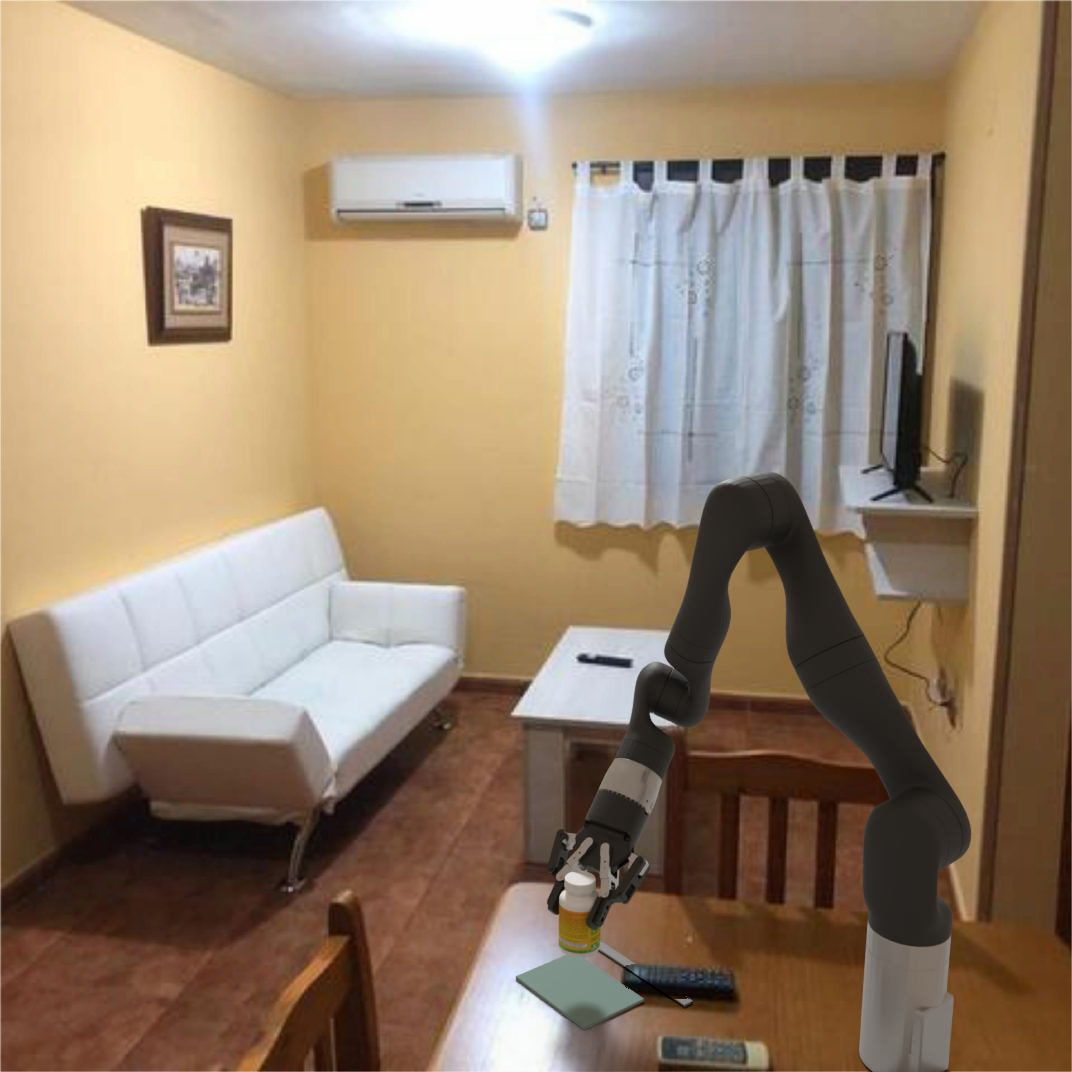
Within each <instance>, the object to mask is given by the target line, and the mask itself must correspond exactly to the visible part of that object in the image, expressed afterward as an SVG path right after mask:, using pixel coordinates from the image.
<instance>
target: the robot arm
mask: <svg viewBox="0 0 1072 1072" xmlns="http://www.w3.org/2000/svg"><path fill="white" fill-rule="evenodd" d="M700 517H701V518H700V520H699V521H700V522H699V527H698V532H697V537H696V542H695V546H694V552H693V555H692V560H691V565H690V569H689V575H688V579H687V581H688V582H687V584H686V588H685V591H684V595H683V599H682V602H681V603H680V607H679V610H678V612H677V614H676V617H675V619H674V621H673V624H672V627H671V629H670V632H669V634H668V637H667V639H666V641H665V644H664V649H663V654H664V658H665V660H666V662H667V663H668V664H669V665H668V664H666V663H664V662H661V661H652V662H650V663H648V664H646V665H645V666H644V667H643V668H642V669H641V670H640V671H639V673H638V676H637V678H636V679H635V680H636V681H635V686H634V690H633V691H634V692H633V693H634V694H633V699H632V700H633V701H632V708H631V714H630V718H629V723H628V726H627V730H626V733H625V735H624V737H623V739H622V741H621V744H620V745H619V746H620V747H619V748H618V750H617V753H616V755H615V757H614V759H613V761H612V763H611V765H609V768H608V769H607V771H606V773H605V775H604V777H603V779H602V781H601V784H600V786H599V788H598V789H597V792H596V794H595V797H594V798H593V801H592V803H591V805H590V808H589V809H588V812H587V813H586V816H585V820H584V825H583V826H582V827H581V828H580V830H579V831H577V833H571V832H566V831H565V830H564V828H563V829H562V828H561V829H558V830H557V831H556V835H555V838H554V842H553V844H552V849H551V853H550V855H549V860H548V863H547V866H546V871H548V873H549V874H551V876H553V878H554V879H555V881H554V882H555V883H554V884H553V886H552V889H551V891H550V894H549V896H548V897H547V900H546V905H547V910H548V911H549V913H551V914H553V915H555V916H559V897H560V894H561V892H562V891H563V890H564V889H565V887H564V883H565V876H566V875H567V874H568V873H570V872H573V871H586V872H590V873H591V872H592V873H598V874H599V878H600V893H599V894H600V897H598V896H597V898H596V900H595V902H594V905H593V907H592V909H591V911H590V914H589V916H588V918H587V921H586V925H587V926H588V927H589V928H590V929H593V930H595V931H596V930H597V929H598V927H601V928H602V926H603V925H604V923H605V921H606V919H607V917H608V914H609V912H610V911H611V908H612V906H613V905H614V904H616V903H617V904H618V903H619V904H623V905H627V904H629V903H630V901H631V900H632V898H633V897H634V895H635V894H636V893H637V891H638V889H639V888H640V885H641V884H642V883H643V881H644V880H645V878H646V877H647V875H648V873H649V872H650V870H651V865H650V863H649V862H648V861H647V860H646V859H645V858H644V857H643V856H642V855H639V856H638V855H636V854H635V847H636V845H637V844H638V842H639V841H640V838H641V835H642V833H643V831H644V829H645V827H646V825H647V822H648V820H649V817H650V815H651V813H652V811H653V810H654V808H655V803H656V801H657V798H658V795H659V791H660V788H661V785H662V783H663V780H664V778H665V776H666V773H667V772H668V771H667V770H668V768H669V767H670V764H671V762H672V760H673V758H674V754H675V752H676V751H675V750H676V745H675V744H676V743H675V742H674V740H673V739H672V738H671V737H670V736H669V735H668V734H667V733H666V732H664V731H663V730H662V729H660V728H659V727H658V726H657V725H656V724H655V723H654V722H653V720H652V718H651V714H653V715H655V716H657V717H659V718H661V719H663V720H665V721H667V722H670V723H672V724H674V725H677V726H679V727H680V728H685V729H687V728H688V729H689V728H693V727H695V726H697V725H698V724H701V722H702V721H703V720H704V719H705V717H706V715H707V713H708V710H709V706H710V702H711V701H710V699H711V685H712V682H711V681H712V674H713V668H714V666H715V662H716V661H717V657H718V656H719V653H720V651H721V648H722V646H723V644H724V643H725V642H724V641H725V639H726V637H727V635H728V632H729V629H730V625H731V621H732V620H731V619H732V611H731V610H732V608H731V607H732V606H731V603H730V601H731V600H730V596H729V585H730V581H731V578H732V574H733V572H734V571H735V569H736V567H737V565H738V564H739V562H740V560H741V559H742V558H743V556H744V555H745V553H747V552H750V551H754V550H760V549H763V548H764V549H765V551H766V552H767V554H768V555H769V557H770V559H771V561H772V563H773V564H774V567H775V569H776V571H777V573H778V575H779V577H780V580H781V584H782V585H783V586H782V587H783V590H784V596H785V645H786V651H787V655H788V658H789V660H790V662H791V665H792V667H793V669H794V671H795V673H796V675H797V677H798V679H799V681H800V683H801V685H802V688H803V689H804V691H805V693H806V695H807V696H808V698H809V700H810V702H811V704H812V705H813V706H814V708H815V709H816V710H817V711H818V712H819V714H820V715H822V717H824V719H825V720H827V722H829V723H830V724H831V725H832V726H833V727H834V728H835V729H836V730H838V731H839V732H840V734H842V735H844V736H845V737H846V738H847V739H848V740H849V741H851V742H852V743H853V744H854V745H855V746H856V747H857V748H858V749H859V750H860V751H861V752H862V753H863V754H864V755H865V757H866V758H867V760H869V762H870V763H871V765H872V766H873V768H874V770H875V771H876V773H877V775H878V777H879V779H880V781H881V782H882V784H883V786H884V789H885V790H886V793H887V795H888V797H889V799H886V800H884V801H883V802H881V803H879V804H878V805H877V806H875V807H874V808H873V809H872V810H871V812H870V813H869V815H868V816H867V819H866V822H865V825H864V826H865V827H864V829H863V830H864V831H863V839H862V894H863V899H864V902H865V904H866V907H867V929H866V930H867V931H866V941H865V942H866V943H865V955H864V957H865V958H864V970H863V971H864V972H863V985H862V986H863V987H862V998H861V999H862V1000H861V1002H862V1003H861V1013H860V1014H861V1015H860V1016H861V1017H860V1032H859V1034H860V1035H859V1049H858V1052H859V1053H858V1054H859V1057H860V1059H861V1061H862V1063H863V1064H864V1066H866V1067H867V1068H868V1069H869V1070H870V1071H872V1072H945V1071H946V1070H948V1069H949V1062H950V1061H949V1060H950V1048H951V1037H952V1025H953V1023H952V1022H953V1013H954V1011H953V1010H954V1000H955V999H954V995H953V994H952V993H949V992H948V991H947V990H948V980H949V979H948V977H949V965H950V956H951V955H950V952H951V941H952V939H951V938H952V929H953V912H952V909H951V906H950V905H949V904H948V903H947V902H946V901H945V899H943V898H942V897H940V896H939V895H938V886H939V885H938V883H939V882H938V880H939V872H940V871H942V870H944V869H945V868H947V867H948V866H950V865H951V864H953V863H955V862H957V861H958V860H960V859H961V858H962V857H963V856H964V855H965V854H966V853H967V851H968V850H969V848H970V846H971V842H972V828H971V823H970V819H969V816H968V814H967V811H966V810H965V808H964V805H963V804H962V802H961V800H960V798H959V796H958V794H957V793H956V792H955V790H954V788H953V787H952V786H951V784H950V783H949V781H948V779H946V777H945V775H944V774H943V772H942V771H941V769H940V767H939V766H938V765H937V763H936V761H935V760H934V758H933V757H932V756H931V754H930V753H929V751H928V750H927V748H926V746H925V745H924V743H923V742H922V740H921V739H920V737H919V735H918V734H917V732H916V730H915V728H914V726H913V725H912V722H911V721H910V719H909V717H908V715H907V713H906V711H905V709H904V708H903V706H902V704H901V702H900V701H899V699H898V697H897V695H896V693H895V691H894V689H893V688H892V686H891V684H890V683H889V680H888V678H887V676H886V674H885V672H884V670H883V669H882V666H881V664H880V662H879V660H878V658H877V656H876V654H875V652H874V650H873V648H872V646H871V644H870V642H869V641H868V639H867V637H866V636H865V633H864V631H863V630H862V628H861V626H860V625H859V623H858V621H857V620H856V617H855V616H854V614H853V612H852V610H851V608H850V607H849V605H848V602H847V601H846V599H845V596H844V594H843V592H842V590H841V588H840V585H839V584H838V582H837V580H836V578H835V576H834V573H833V572H832V570H831V568H830V566H829V564H828V562H827V559H826V557H825V555H824V552H823V549H822V548H821V544H820V542H819V540H818V538H817V535H816V533H815V529H814V528H813V525H812V523H811V520H810V518H809V517H810V516H809V515H808V512H807V510H806V508H805V506H804V503H803V501H802V499H801V496H800V495H799V493H798V491H797V490H796V489H795V487H794V485H793V484H791V482H790V481H789V479H787V478H786V477H784V476H783V475H781V474H780V473H777V472H771V471H763V472H757V473H754V474H748V475H743V476H736V477H732V478H728V479H726V480H722V481H721V482H719V483H717V484H716V485H715V486H713V488H712V489H711V490H710V491H709V494H708V496H707V497H706V500H705V502H704V505H703V509H702V513H701V516H700ZM575 845H576V851H574V852H573V853H572V855H570V857H569V858H568V856H569V852H570V851H572V850H573V849H574V848H573V847H574V846H575ZM627 864H628V866H627ZM625 866H627V868H628V869H627V871H626V872H625V874H624V876H623V877H622V879H621V881H620V882H619V880H620V879H619V878H620V870H621V868H623V867H625Z"/></svg>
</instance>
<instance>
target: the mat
mask: <svg viewBox="0 0 1072 1072" xmlns="http://www.w3.org/2000/svg"><path fill="white" fill-rule="evenodd" d="M516 980H517V982H519V983H521V984H522V986H524V987H526V988H527V989H528V990H530V991H531V992H532V993H534V994H535V995H536V996H537V997H539V998H541V1000H543V1001H545V1002H546V1003H547V1004H549V1006H551V1007H552V1008H553V1009H555V1010H556V1011H558V1012H559V1013H560V1014H561V1015H563V1016H565V1017H566V1018H567V1019H568V1020H570V1021H571V1022H572V1023H574V1024H575V1025H576V1026H577V1027H579V1028H580V1029H581V1030H583V1031H586V1030H588V1029H591V1028H592V1027H594V1026H596V1025H598V1024H600V1023H602V1022H604V1021H607V1020H609V1019H611V1018H612V1017H615V1016H616V1015H619V1014H621V1013H623V1012H625V1011H627V1010H629V1009H631V1008H633V1007H635V1006H638V1005H639V1004H641V1003H644V1002H645V998H644V997H642V996H640V995H639V994H638V993H636V992H635V991H634V990H632V989H630V988H629V987H627V986H626V985H624V984H623V983H622V982H620V981H619V980H617V979H616V978H614V977H612V975H609V974H608V973H607V972H605V971H603V969H601V968H599V967H598V966H596V965H595V964H594V963H592V962H590V961H589V960H587V959H586V957H573V956H569V955H567V954H565V955H562V956H560V957H558V958H555V959H554V960H551V961H548V962H546V963H543V964H541V965H539V966H537V967H534V968H531V969H529V970H527V971H525V972H522V973H520V974H517V975H515V981H516ZM625 986H626V987H627V988H626V987H625ZM628 988H629V989H628Z"/></svg>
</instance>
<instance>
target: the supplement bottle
mask: <svg viewBox="0 0 1072 1072" xmlns="http://www.w3.org/2000/svg"><path fill="white" fill-rule="evenodd" d="M596 879H597V878H596V876H595V875H594V874H593V873H591V872H590V871H587V872H586V871H573V872H570V873H568V874H567V875H566V876H565V883H564V887H565V889H564V890H563V891H562V892H561V894H560V897H559V914H558V947H559V949H560V950H561V952H562V953H564V954H565V955H569V956H573V957H583V958H587V957H590V956H593V955H595V954H596V953H598V952H599V951H598V950H599V948H600V941H601V931H602V930H601V928H602V926H601V927H598V929H597V930H596V931H595V930H593V929H590V928H589V927H588V926H587V925H586V921H587V918H588V916H589V914H590V911H591V909H592V907H593V905H594V902H595V900H596V898H597V896H598V897H600V896H601V895H600V893H599V891H597V888H596V887H597V880H596Z"/></svg>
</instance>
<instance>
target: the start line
mask: <svg viewBox="0 0 1072 1072" xmlns="http://www.w3.org/2000/svg"><path fill="white" fill-rule="evenodd" d="M597 952H600V953H602V954H603V955H604V956H606V957H608V958H609V959H610V960H612V961H613V962H615V963H617V964H618V965H620V966H621V967H623V968H624V967H625V966H626V965H631V964H636V963H635V962H633V961H632V960H630V959H629V958H627V957H626V956H625V955H623V954H621V953H620V952H618V951H617V950H616V949H614V948H612V947H611V946H609V945H607V944H606V943H604V942H603V941H601V940H600V948H599V950H598V951H597ZM688 998H689V997H688ZM688 998H687V999H675V1000H677V1001H678V1002H679V1003H680V1004H681V1005H680V1004H679V1003H678V1004H679V1005H680V1006H682V1005H683V1006H682V1007H683V1008H685V1007H687V1006H689V1005H691V1004H692V1003H691V1002H693V1000H692V999H691V998H689V999H688Z"/></svg>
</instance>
